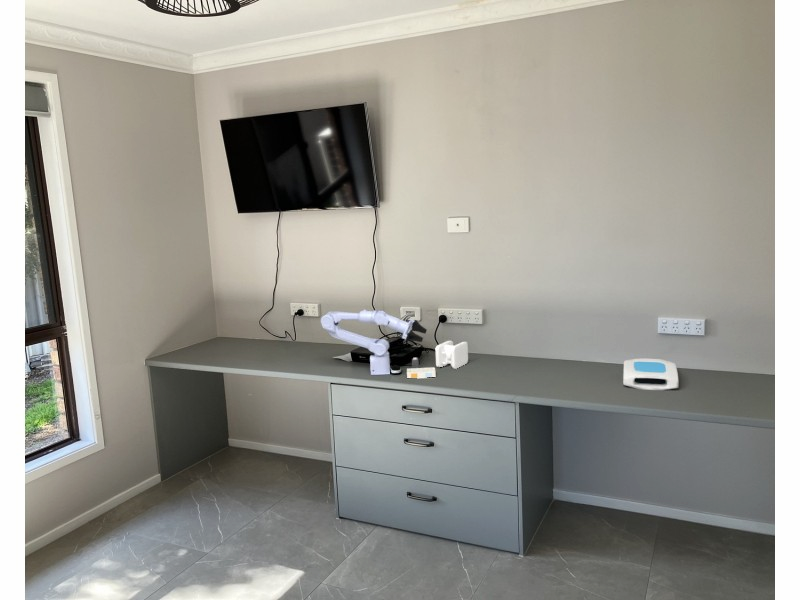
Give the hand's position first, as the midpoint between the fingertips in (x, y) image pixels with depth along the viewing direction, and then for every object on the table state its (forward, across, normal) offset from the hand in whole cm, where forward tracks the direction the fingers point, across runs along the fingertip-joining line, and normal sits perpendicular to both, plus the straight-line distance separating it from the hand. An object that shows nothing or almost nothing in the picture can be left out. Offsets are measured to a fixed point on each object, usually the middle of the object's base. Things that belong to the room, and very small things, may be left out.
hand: (424, 335), depth 298 cm
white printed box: (+6, -12, +14) cm, 19 cm away
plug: (+2, -4, +18) cm, 19 cm away
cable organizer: (+18, +6, +15) cm, 24 cm away
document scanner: (+98, -5, -27) cm, 102 cm away
